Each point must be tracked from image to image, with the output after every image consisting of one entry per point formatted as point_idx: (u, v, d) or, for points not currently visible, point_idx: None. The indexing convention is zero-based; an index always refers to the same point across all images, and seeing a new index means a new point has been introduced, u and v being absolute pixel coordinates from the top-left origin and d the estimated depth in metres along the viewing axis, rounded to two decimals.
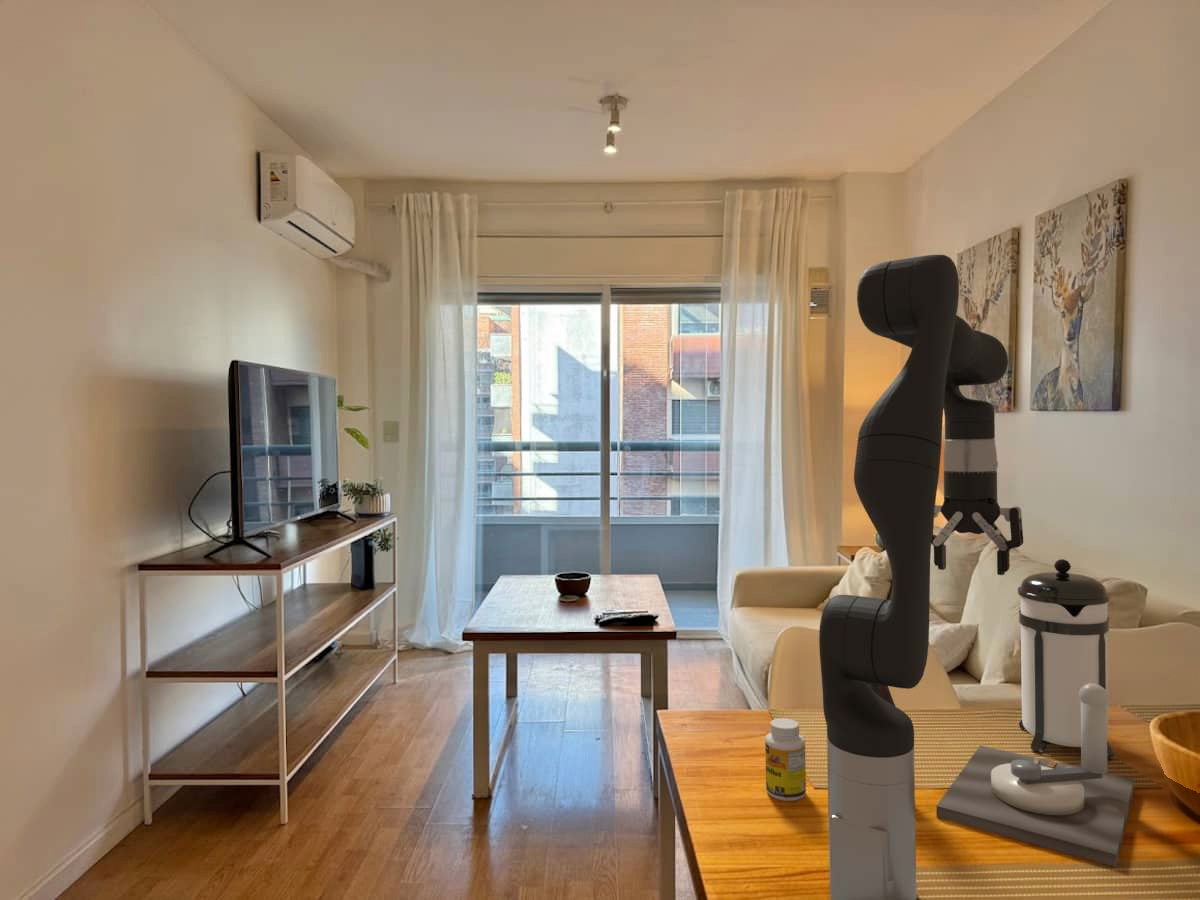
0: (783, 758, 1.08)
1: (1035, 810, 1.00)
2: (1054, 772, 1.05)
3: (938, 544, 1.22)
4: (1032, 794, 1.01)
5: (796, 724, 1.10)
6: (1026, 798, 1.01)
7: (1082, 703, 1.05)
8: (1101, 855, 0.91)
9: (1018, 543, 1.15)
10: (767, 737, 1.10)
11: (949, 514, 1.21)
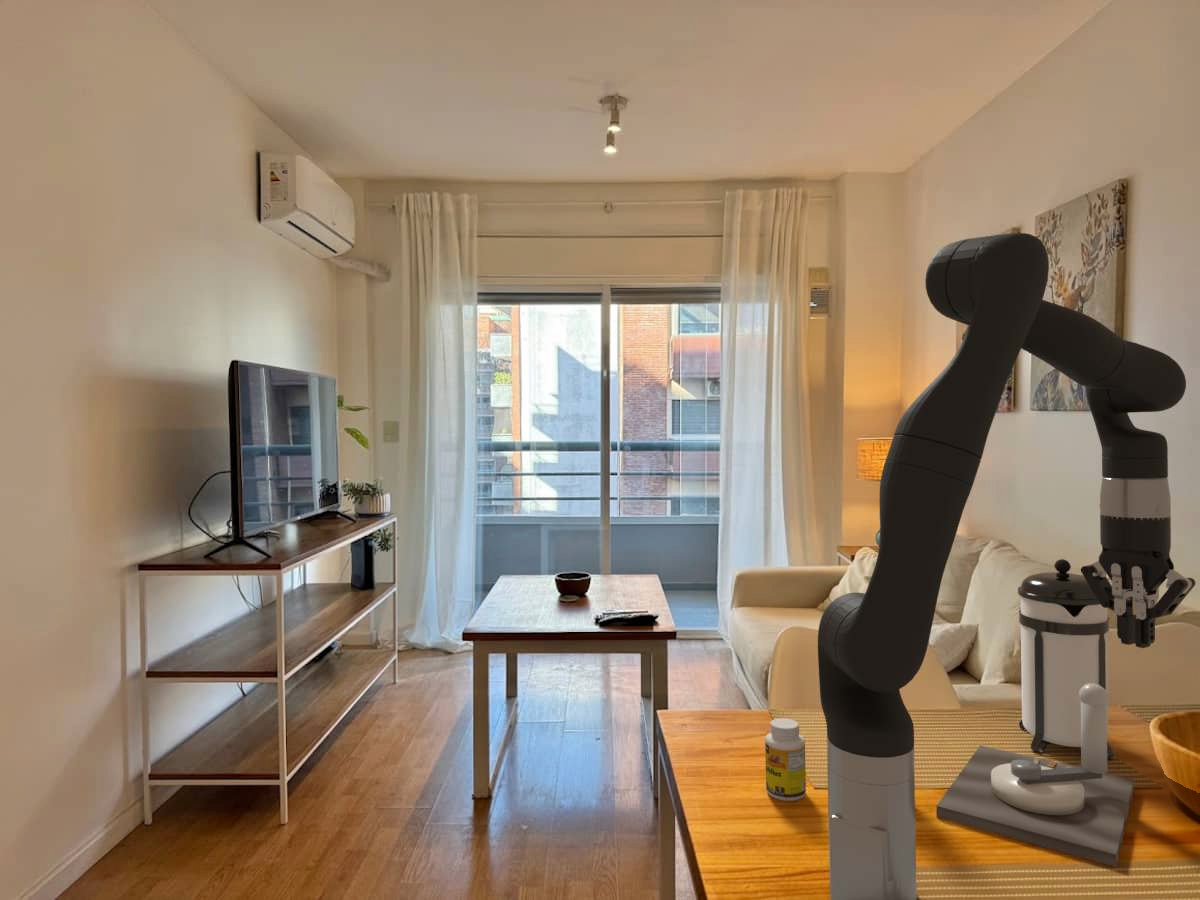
0: (783, 758, 1.08)
1: (1035, 810, 1.00)
2: (1054, 772, 1.05)
3: None
4: (1032, 794, 1.01)
5: (796, 724, 1.10)
6: (1026, 798, 1.01)
7: (1082, 703, 1.05)
8: (1101, 855, 0.91)
9: None
10: (767, 737, 1.10)
11: None
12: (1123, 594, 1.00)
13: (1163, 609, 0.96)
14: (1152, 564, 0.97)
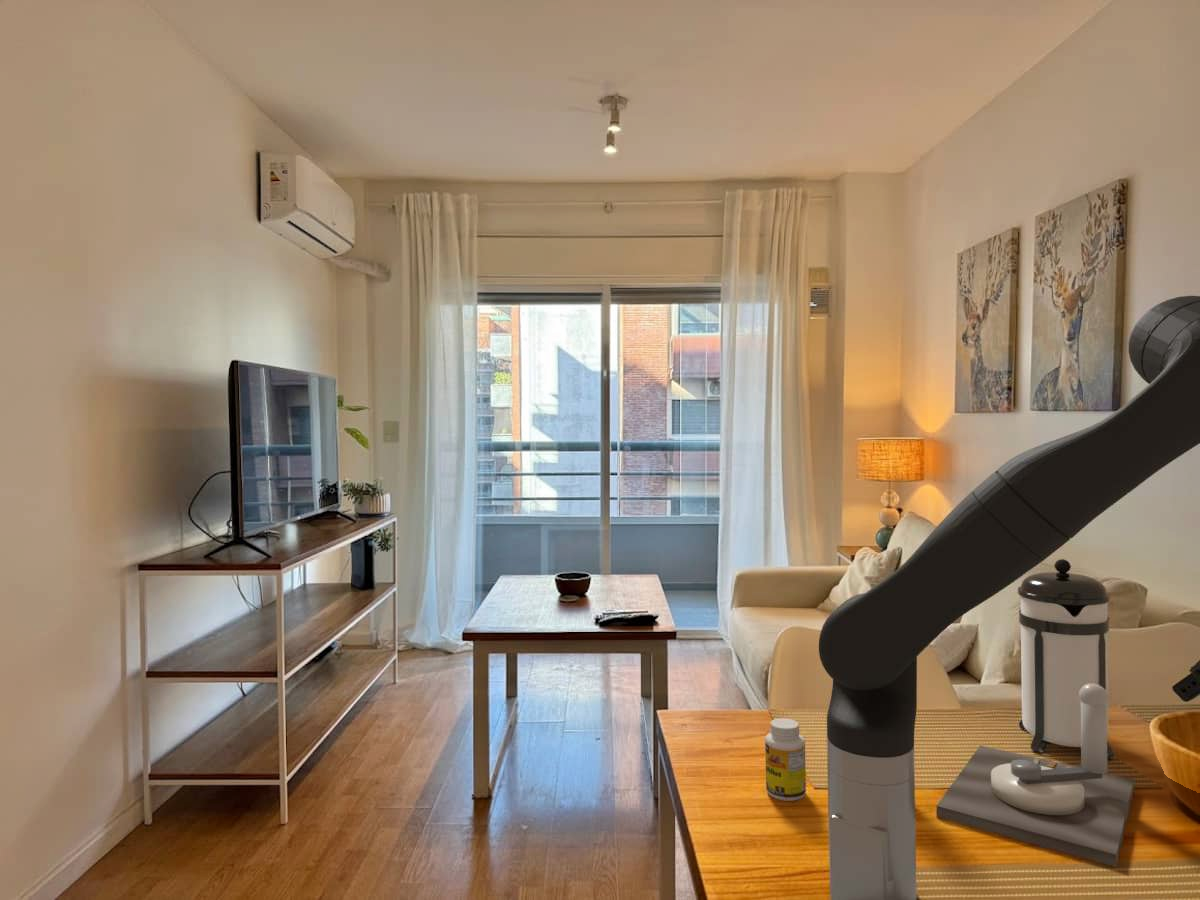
0: (783, 758, 1.08)
1: (1035, 810, 1.00)
2: (1054, 772, 1.05)
3: None
4: (1032, 794, 1.01)
5: (796, 724, 1.10)
6: (1026, 798, 1.01)
7: (1082, 703, 1.05)
8: (1101, 855, 0.91)
9: None
10: (767, 737, 1.10)
11: None
12: None
13: (1193, 666, 0.91)
14: None
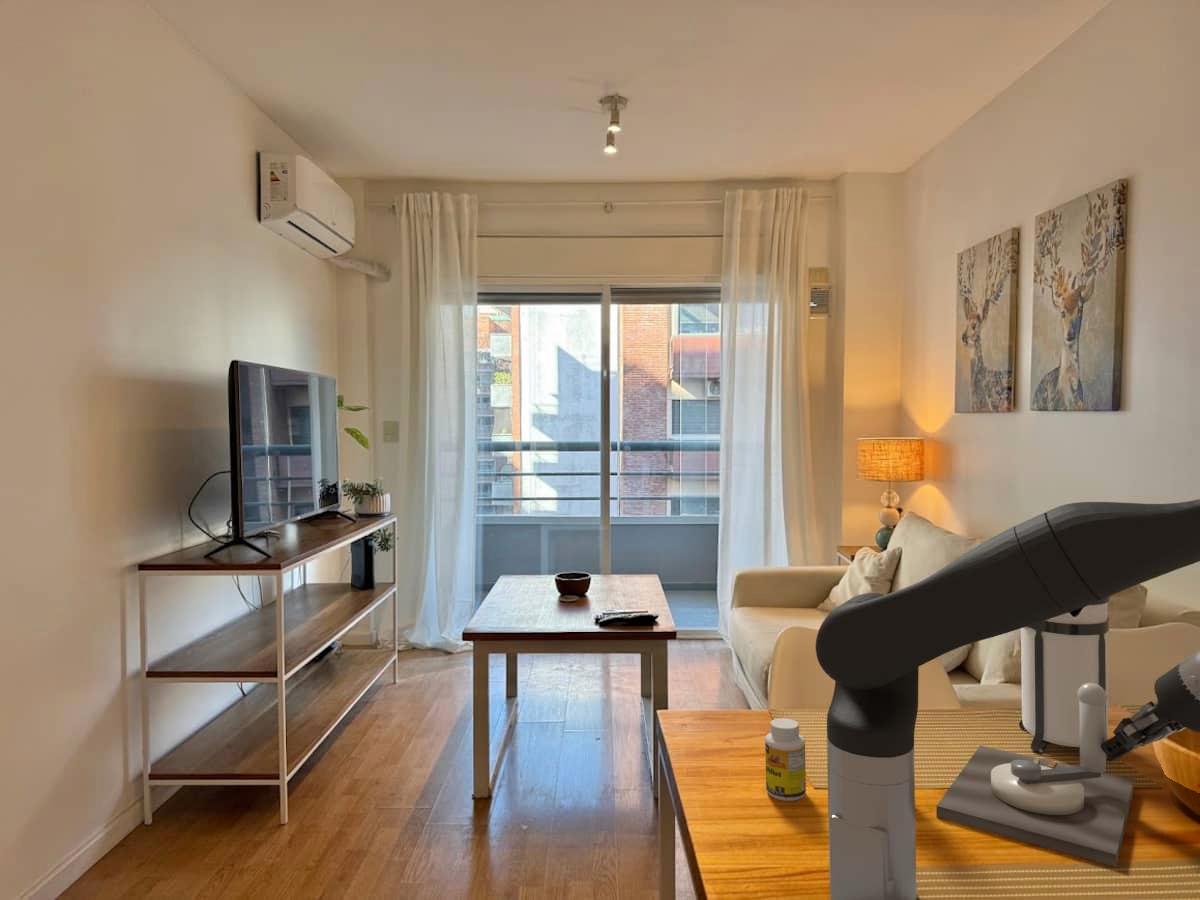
0: (783, 758, 1.08)
1: (1036, 810, 1.00)
2: (1053, 772, 1.05)
3: None
4: (1033, 794, 1.01)
5: (796, 724, 1.10)
6: (1027, 798, 1.01)
7: (1081, 702, 1.06)
8: (1101, 855, 0.91)
9: None
10: (767, 737, 1.10)
11: (1163, 726, 0.96)
12: None
13: (1115, 729, 1.00)
14: None
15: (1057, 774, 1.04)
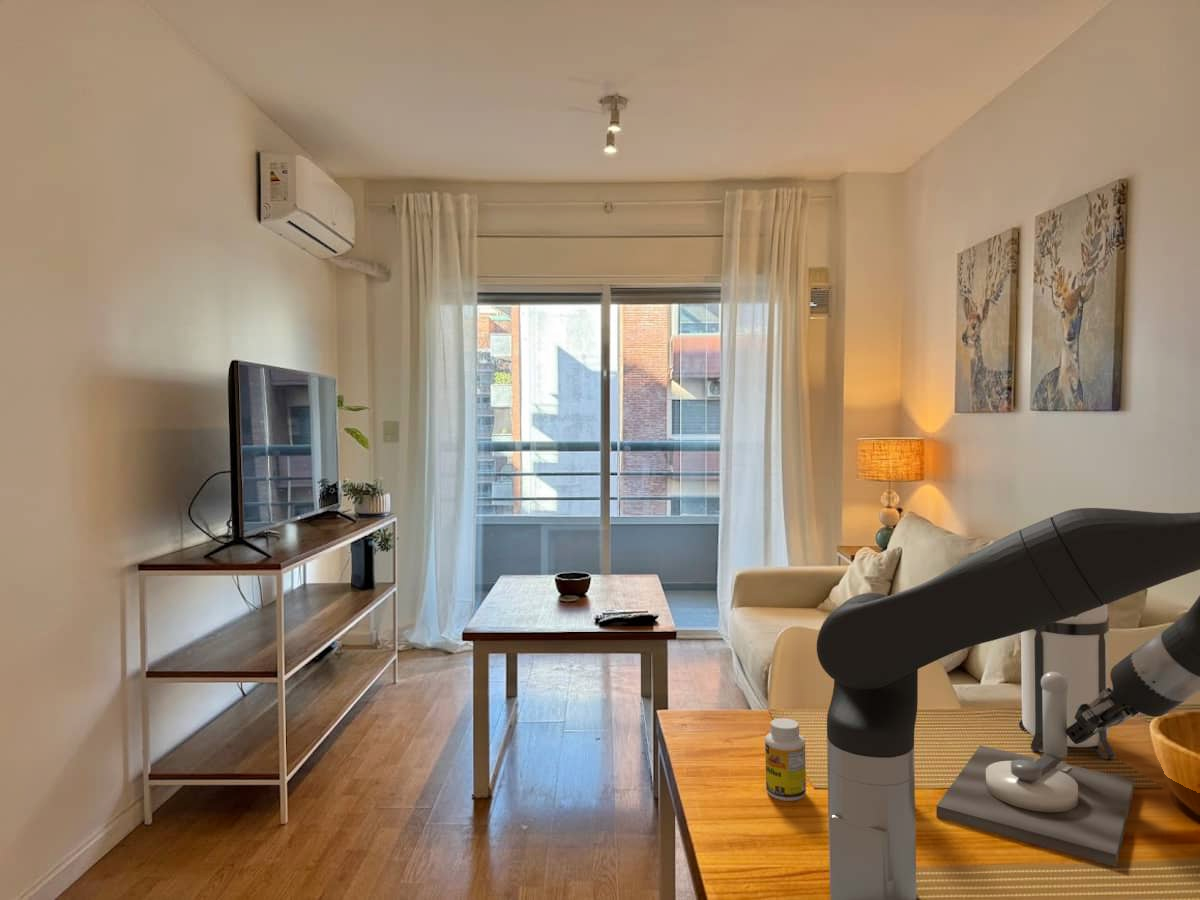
0: (783, 758, 1.08)
1: (1056, 809, 1.00)
2: (1040, 766, 1.07)
3: None
4: (1050, 794, 1.01)
5: (796, 724, 1.10)
6: (1047, 799, 1.00)
7: (1048, 692, 1.10)
8: (1101, 855, 0.91)
9: None
10: (767, 737, 1.10)
11: (1119, 711, 1.01)
12: None
13: None
14: None
15: (1044, 767, 1.06)
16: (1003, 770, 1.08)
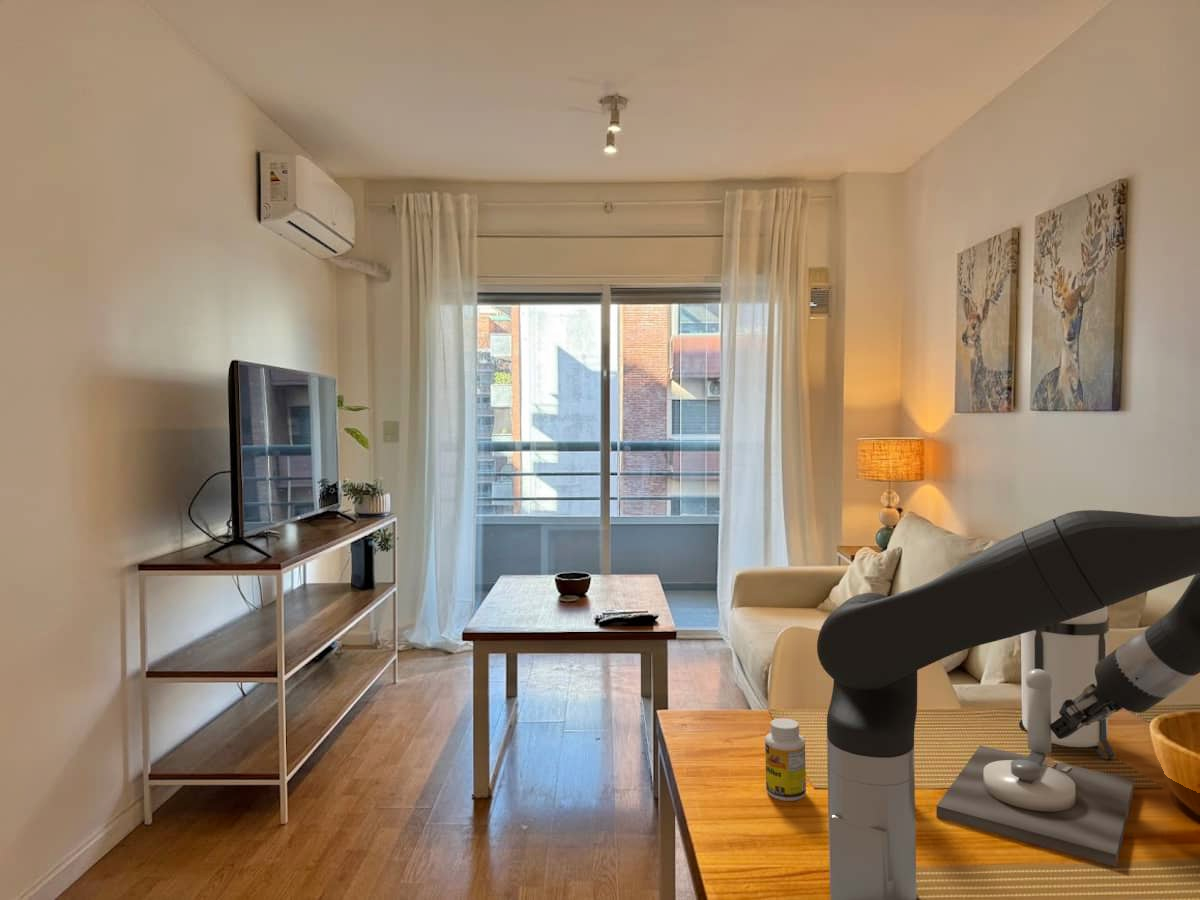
0: (783, 758, 1.08)
1: (1061, 807, 1.00)
2: None
3: None
4: (1054, 793, 1.01)
5: (796, 724, 1.10)
6: (1054, 798, 1.00)
7: (1035, 690, 1.11)
8: (1101, 855, 0.91)
9: None
10: (767, 737, 1.10)
11: (1102, 706, 1.02)
12: None
13: None
14: None
15: (1037, 765, 1.07)
16: (1000, 771, 1.07)
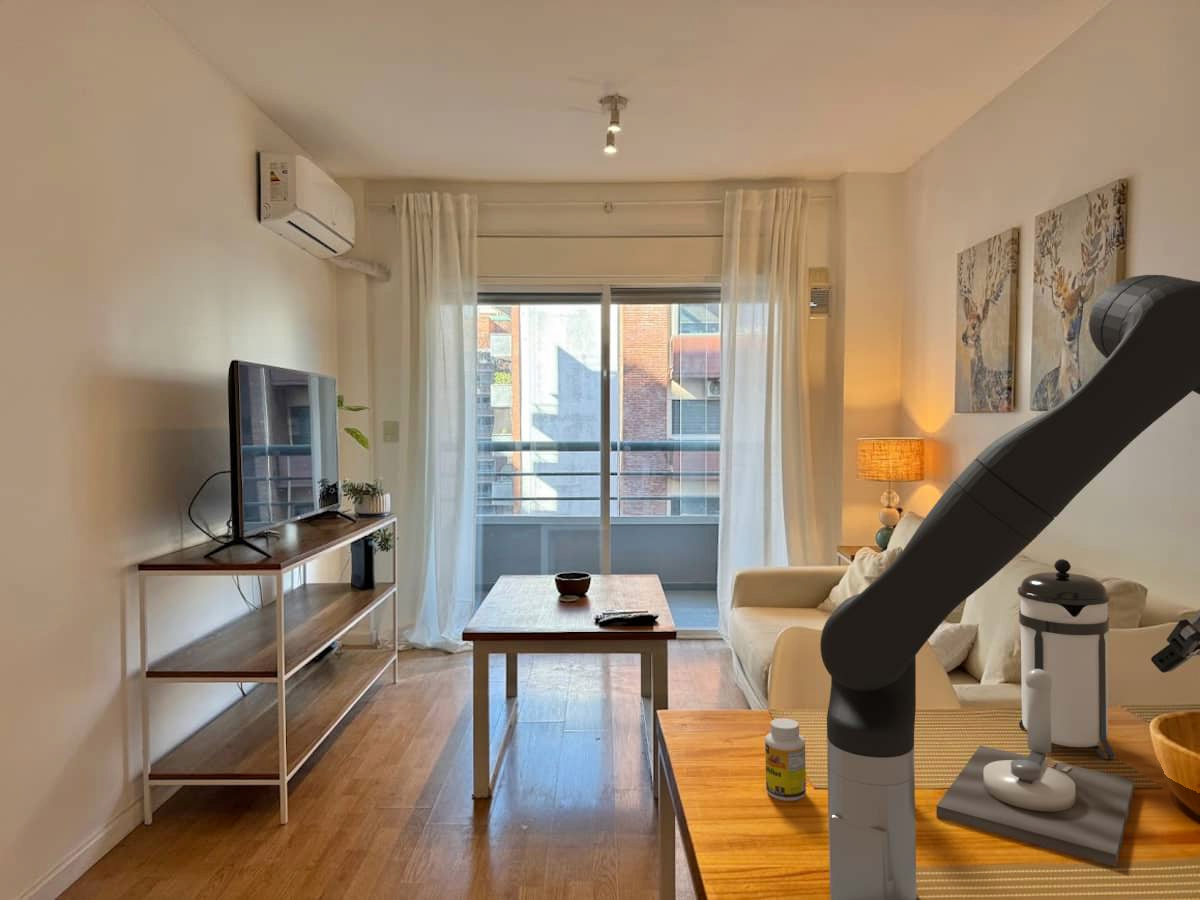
0: (783, 758, 1.08)
1: (1061, 807, 1.00)
2: None
3: (1190, 656, 0.93)
4: (1054, 793, 1.01)
5: (796, 724, 1.10)
6: (1054, 798, 1.00)
7: (1035, 690, 1.11)
8: (1101, 855, 0.91)
9: None
10: (767, 737, 1.10)
11: None
12: None
13: None
14: None
15: (1037, 765, 1.07)
16: (1000, 772, 1.07)
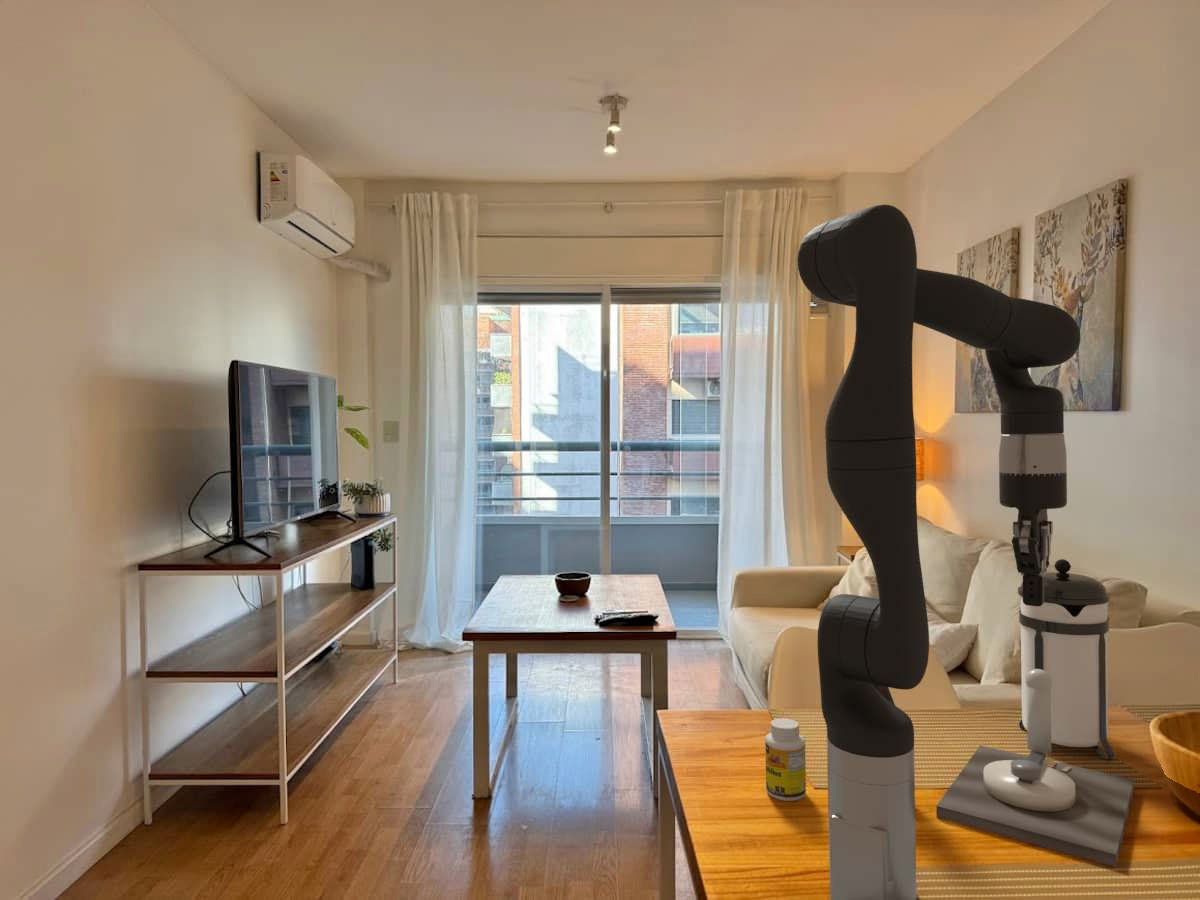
0: (783, 758, 1.08)
1: (1061, 807, 1.00)
2: None
3: (1043, 574, 0.97)
4: (1054, 793, 1.01)
5: (796, 724, 1.10)
6: (1054, 798, 1.00)
7: (1035, 690, 1.11)
8: (1101, 855, 0.91)
9: (1048, 562, 1.00)
10: (767, 737, 1.10)
11: (1039, 526, 0.96)
12: None
13: None
14: None
15: (1037, 765, 1.07)
16: (1000, 772, 1.07)
